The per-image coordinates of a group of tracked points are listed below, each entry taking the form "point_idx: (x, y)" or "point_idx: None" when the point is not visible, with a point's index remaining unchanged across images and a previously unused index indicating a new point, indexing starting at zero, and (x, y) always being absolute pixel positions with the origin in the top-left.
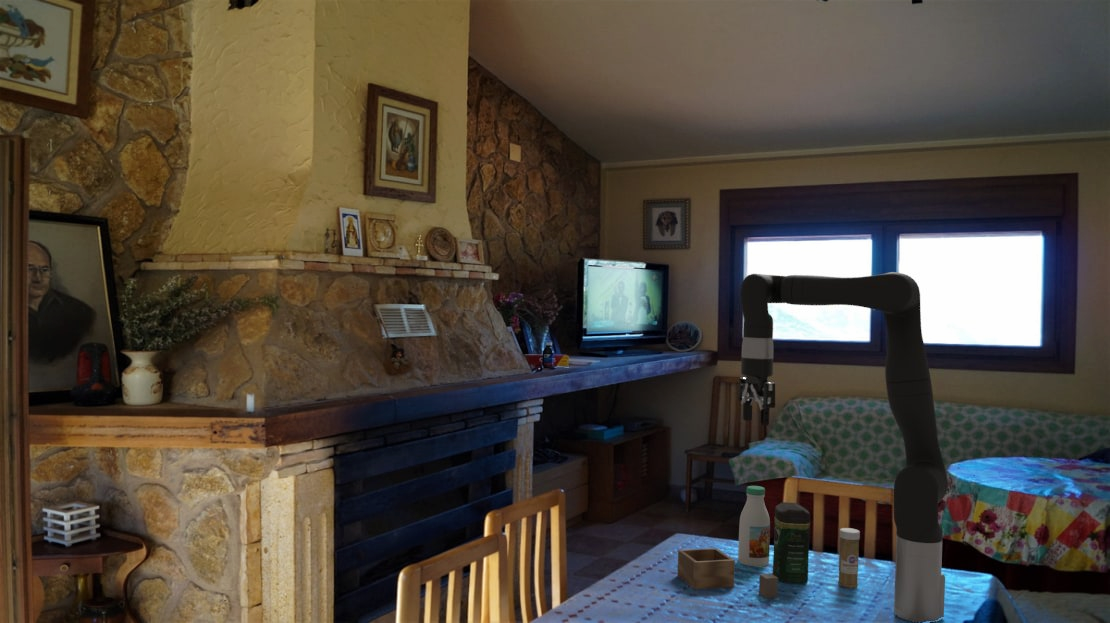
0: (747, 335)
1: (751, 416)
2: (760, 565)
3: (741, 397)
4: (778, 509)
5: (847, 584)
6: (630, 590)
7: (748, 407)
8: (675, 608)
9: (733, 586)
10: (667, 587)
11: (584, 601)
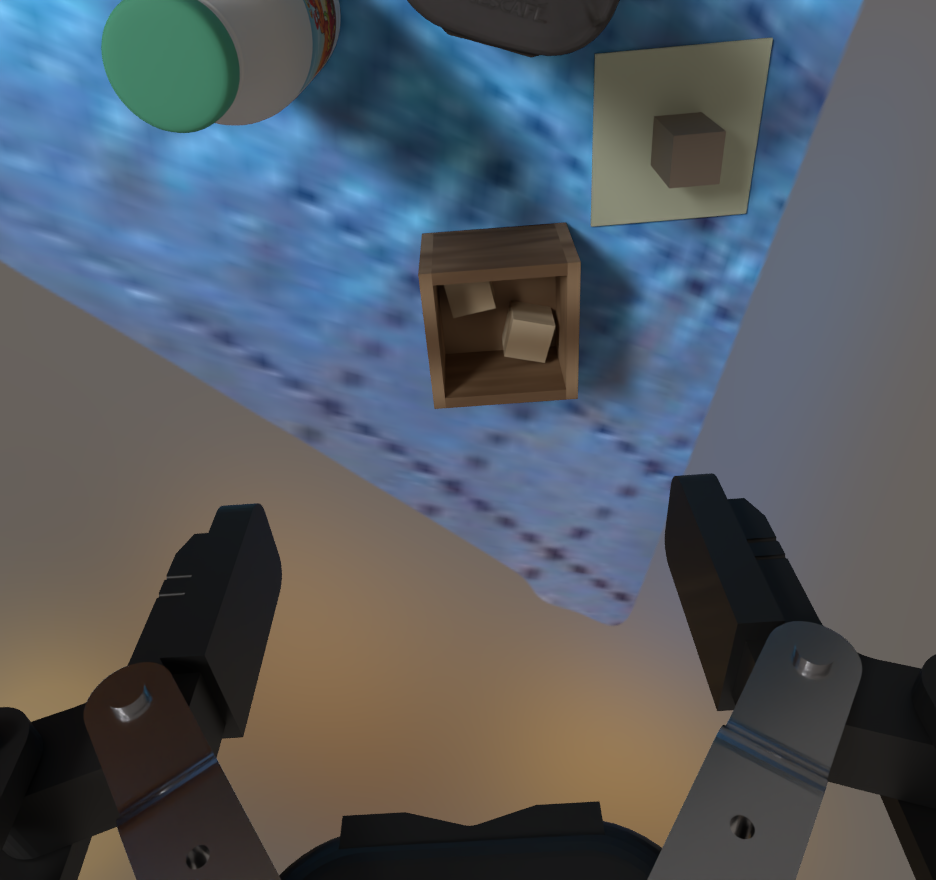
0: None
1: (250, 535)
2: (339, 6)
3: (76, 851)
4: (507, 40)
5: None
6: (515, 490)
7: (229, 670)
8: (665, 428)
9: (566, 228)
10: (506, 404)
11: (569, 583)
